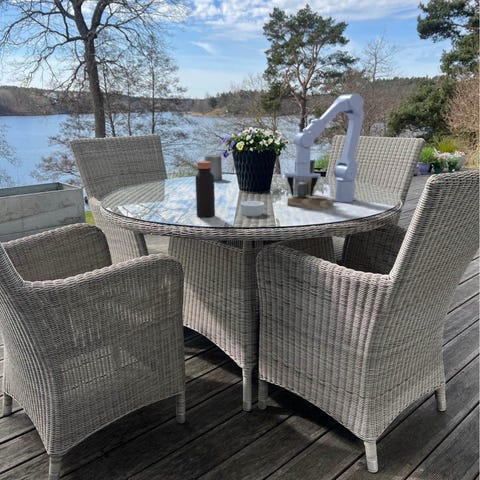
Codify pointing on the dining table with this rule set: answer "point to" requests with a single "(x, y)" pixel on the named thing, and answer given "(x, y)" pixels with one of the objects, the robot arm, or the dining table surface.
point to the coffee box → (305, 180)
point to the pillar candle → (215, 166)
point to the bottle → (205, 190)
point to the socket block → (311, 202)
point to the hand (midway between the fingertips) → (301, 195)
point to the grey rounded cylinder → (301, 190)
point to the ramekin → (252, 208)
